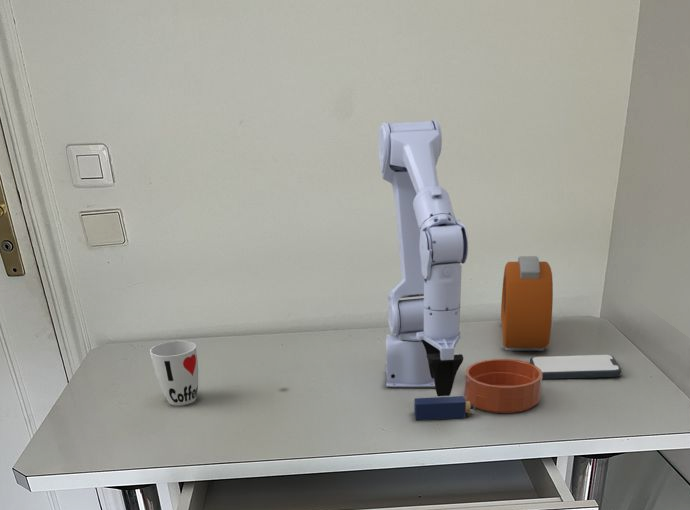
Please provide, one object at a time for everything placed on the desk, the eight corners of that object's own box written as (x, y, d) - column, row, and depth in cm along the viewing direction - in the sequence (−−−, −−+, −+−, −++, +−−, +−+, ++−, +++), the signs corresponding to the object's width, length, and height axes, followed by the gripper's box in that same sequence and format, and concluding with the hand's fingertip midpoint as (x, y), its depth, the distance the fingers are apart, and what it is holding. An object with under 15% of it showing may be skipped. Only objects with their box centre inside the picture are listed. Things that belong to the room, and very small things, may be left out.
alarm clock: (500, 320, 167) (505, 244, 158) (540, 320, 166) (547, 244, 157) (503, 356, 147) (508, 273, 139) (548, 357, 146) (557, 272, 137)
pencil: (415, 420, 124) (416, 404, 122) (414, 414, 126) (414, 398, 124) (474, 417, 124) (475, 401, 122) (471, 411, 126) (472, 395, 124)
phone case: (534, 381, 137) (622, 378, 135) (535, 373, 136) (623, 370, 135) (528, 364, 144) (611, 361, 143) (529, 356, 143) (612, 353, 142)
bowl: (465, 414, 125) (466, 387, 122) (463, 384, 136) (464, 358, 134) (543, 414, 124) (546, 387, 121) (535, 384, 135) (538, 358, 132)
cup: (166, 412, 130) (156, 359, 125) (155, 397, 136) (145, 346, 131) (210, 402, 133) (201, 350, 128) (197, 388, 140) (188, 337, 134)
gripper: (412, 294, 121) (412, 371, 128) (421, 321, 108) (421, 405, 116) (454, 292, 121) (452, 369, 128) (468, 318, 109) (465, 402, 116)
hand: (440, 386), depth 122 cm, fingers open, 7 cm apart
